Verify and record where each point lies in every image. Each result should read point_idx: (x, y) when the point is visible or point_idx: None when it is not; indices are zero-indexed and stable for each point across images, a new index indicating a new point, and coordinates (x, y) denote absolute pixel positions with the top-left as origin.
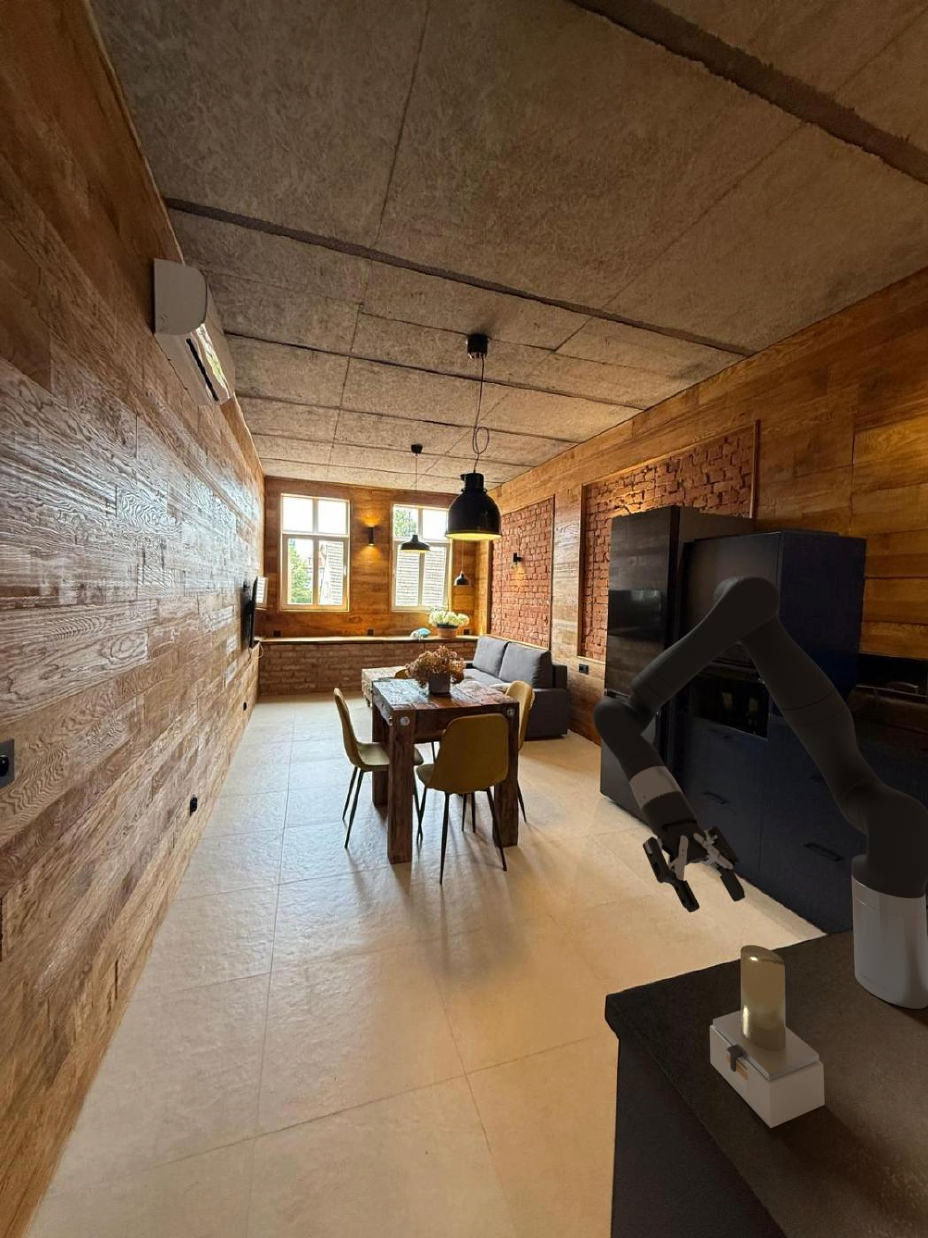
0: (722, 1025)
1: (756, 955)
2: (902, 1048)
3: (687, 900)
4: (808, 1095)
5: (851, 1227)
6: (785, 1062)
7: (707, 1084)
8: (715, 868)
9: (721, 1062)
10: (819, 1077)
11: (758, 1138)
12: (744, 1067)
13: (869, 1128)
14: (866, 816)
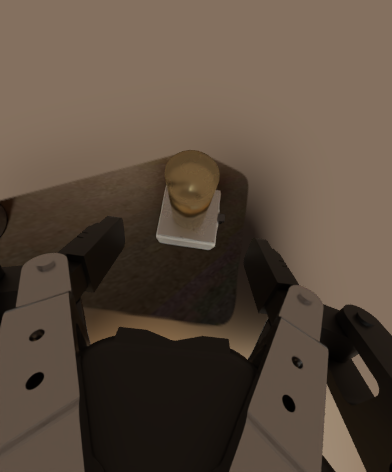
0: (212, 234)
1: (196, 179)
2: (63, 192)
3: (278, 256)
4: None
5: (223, 163)
6: None
7: (224, 241)
8: (80, 311)
9: None
10: None
11: (225, 205)
12: (219, 212)
13: (159, 178)
14: None
